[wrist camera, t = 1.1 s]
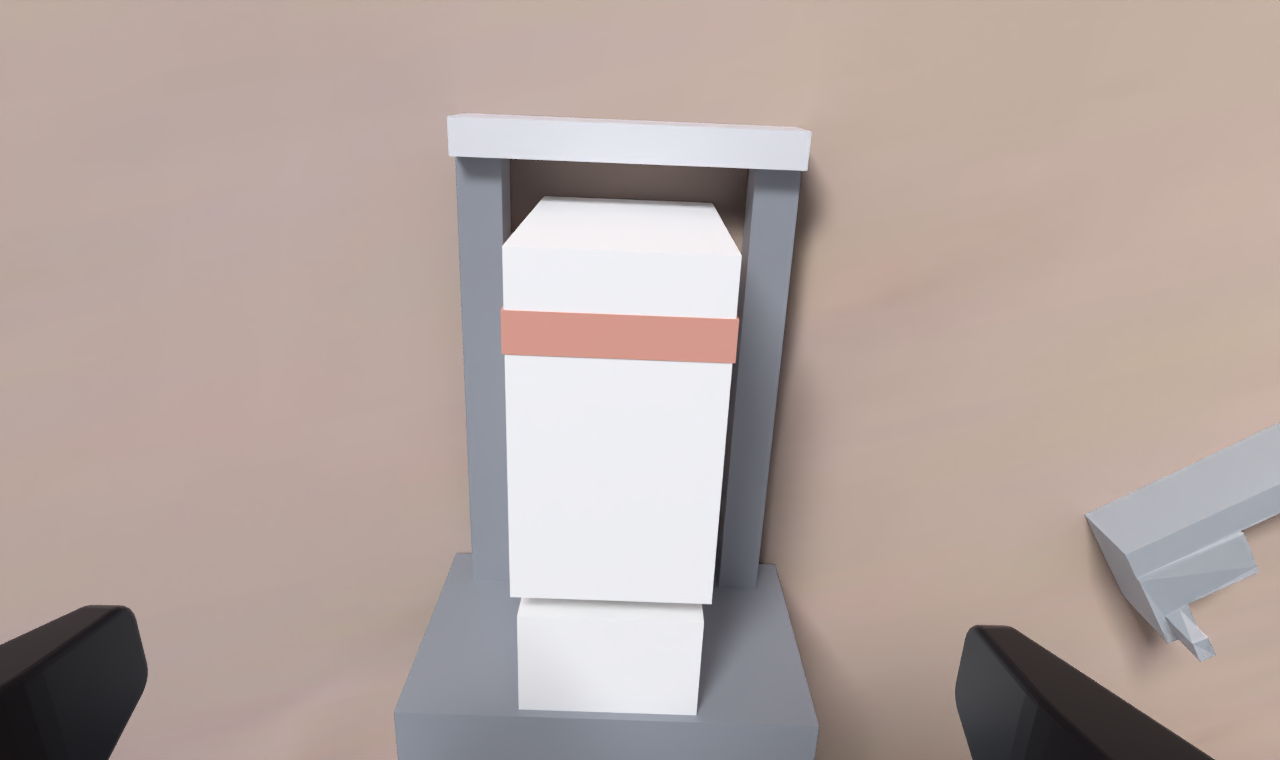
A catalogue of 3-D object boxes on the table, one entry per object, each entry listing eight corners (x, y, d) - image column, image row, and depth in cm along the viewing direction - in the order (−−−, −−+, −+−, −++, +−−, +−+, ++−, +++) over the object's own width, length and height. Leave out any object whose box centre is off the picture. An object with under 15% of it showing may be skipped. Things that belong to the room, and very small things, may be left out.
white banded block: (695, 465, 21) (713, 605, 16) (543, 460, 21) (507, 597, 16) (714, 202, 19) (744, 256, 13) (542, 195, 19) (499, 246, 13)
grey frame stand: (758, 703, 24) (793, 892, 18) (463, 693, 24) (408, 880, 18) (825, 128, 18) (908, 149, 13) (434, 111, 18) (340, 125, 12)
